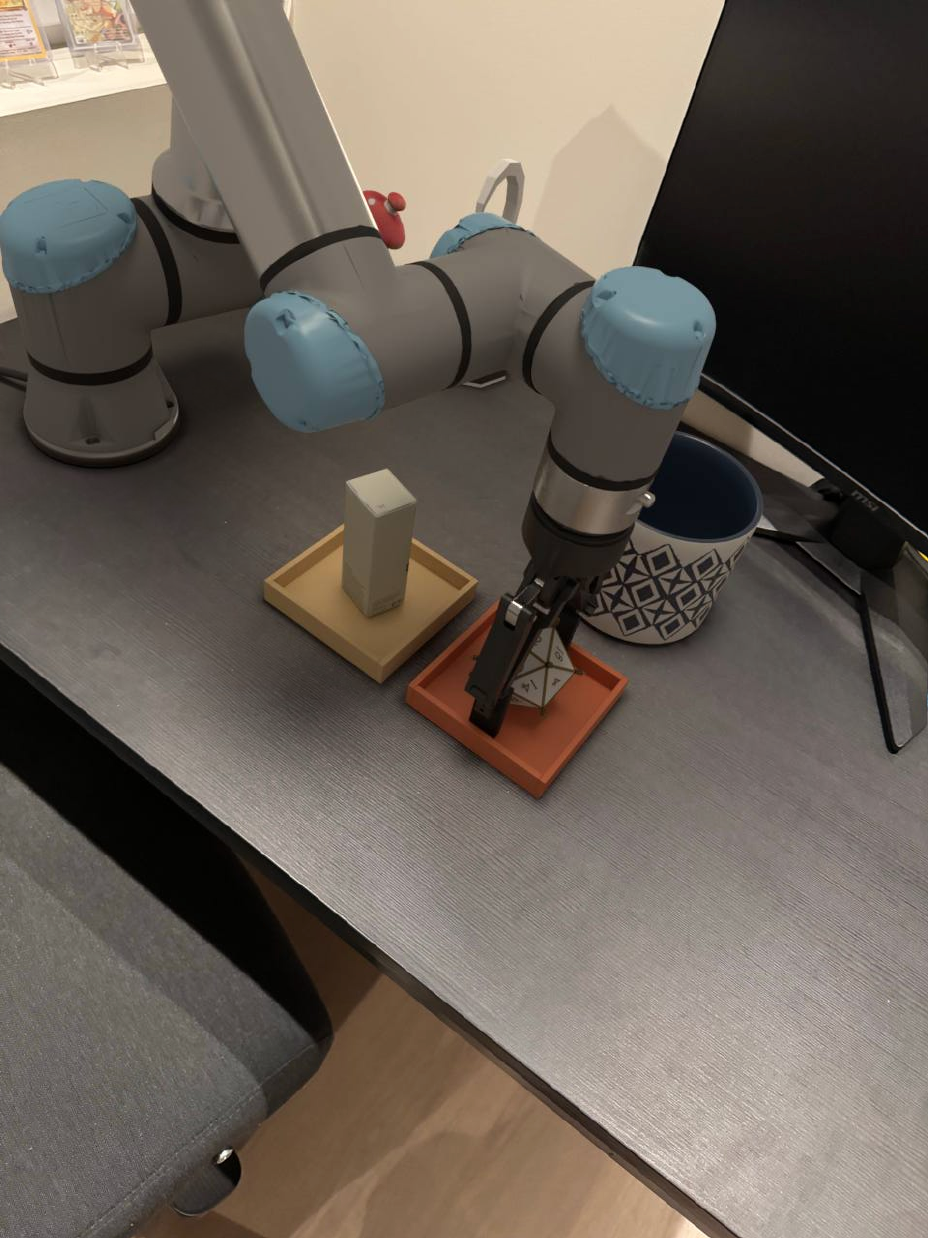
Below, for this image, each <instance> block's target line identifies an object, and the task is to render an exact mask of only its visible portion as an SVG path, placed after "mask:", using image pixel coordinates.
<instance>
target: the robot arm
mask: <svg viewBox="0 0 928 1238" xmlns="http://www.w3.org/2000/svg"><path fill="white" fill-rule="evenodd" d="M292 1H293V0H128V2H129V4H130V6H131V9H132V10H133V13H134V14H135V16H136V19H137V21H138V23H139V25H140V28H141V30H142V32H143V34H144V36H145V39H146V40H147V42H148V44H149V48H150V49H151V52H152V54H153V55H154V58H155V60H156V62H157V64H158V67H159V69H160V71H161V73H162V76H163V77H164V79H165V82H166V85H167V87H168V88H169V90H170V93H171V109H170V110H171V112H170V135H169V136H170V140H169V148H167V149H165V150H164V151H163V152H161V153H160V154H159V155H158V156H157V157H156V158H155V161H154V162H153V166H152V169H151V188H150V189H151V191H150V194H146V195H141V196H135V197H129V195H128V194H126V192H125V191H123V190H122V189H121V188H119V187H118V186H116V185H115V184H114V185H113V184H111V183H109V182H106V181H101V180H97V179H90V180H88V181H83V180H81V179H80V178H68V179H60V180H59V179H58V180H53V181H51V182H46V183H42V184H39V185H36V186H33V187H31V188H29V189H27V190H25V191H23V192H21V193H20V194H18V195H17V196H15V197H14V198H13V199H11V201H9V202H8V203H7V205H6V208H5V209H3V211H2V212H1V215H0V256H1V268H2V273H3V276H4V278H5V279H6V281H7V283H8V287H9V291H10V294H11V298H12V302H13V306H14V310H15V314H16V317H17V321H18V325H19V328H20V332H21V336H22V340H23V343H24V347H25V350H26V351H25V352H26V354H27V359H28V362H29V365H28V366H29V367H28V373H27V372H23V371H21V370H20V371H19V370H17V369H12V368H8V367H3V366H0V376H1V377H6V378H9V379H14V380H17V381H21V382H25V383H26V391H25V399H24V403H23V409H22V410H23V411H22V414H23V419H24V422H25V427H26V429H27V433H28V436H29V438H30V440H31V442H32V443H33V444H34V445H35V446H36V447H37V448H38V449H39V450H40V451H41V452H43V453H45V454H46V455H48V456H49V457H52V458H54V459H55V460H58V461H61V462H64V463H66V464H67V463H68V464H70V465H75V466H81V467H90V468H91V467H92V468H96V467H97V468H106V467H108V468H109V467H117V466H123V465H128V464H133V463H136V462H139V461H142V460H145V459H147V458H149V457H152V456H154V455H155V454H157V453H159V452H160V451H162V450H163V449H165V448H166V447H167V446H168V445H169V444H170V443H171V442H172V441H173V439H174V438H175V437H176V435H177V433H178V432H179V431H178V430H179V428H180V420H181V419H180V413H179V411H180V410H179V404H178V399H177V396H176V394H175V393H174V391H173V389H172V387H171V385H170V384H169V382H168V380H167V378H166V376H165V374H164V372H163V371H162V369H161V366H160V365H159V363H158V360H157V359H156V357H155V355H154V351H153V344H152V342H153V341H152V334H151V333H152V331H153V330H157V329H161V328H163V327H168V326H172V325H177V324H181V323H185V322H190V321H194V320H198V319H203V318H207V317H211V316H216V315H217V316H218V315H220V314H225V313H231V312H234V311H238V310H244V309H250V308H251V309H250V310H249V312H248V314H247V316H246V319H245V323H244V330H243V331H244V332H243V336H244V337H243V338H244V340H243V341H244V349H245V355H246V357H247V359H248V361H249V363H250V367H251V378H252V381H253V384H254V386H255V388H256V390H257V392H258V394H259V396H260V398H261V400H262V401H263V403H264V404H265V405H266V407H267V408H268V410H269V411H270V412H271V413H272V415H274V417H275V418H276V419H277V420H278V421H279V422H280V423H282V424H283V425H285V426H286V427H288V428H290V429H291V430H294V431H297V432H299V433H308V434H309V433H310V434H311V433H312V434H313V433H318V432H321V431H326V430H329V429H332V428H337V427H340V426H344V425H347V424H350V423H355V422H361V421H364V420H365V421H370V420H373V419H375V418H376V417H378V416H379V415H380V414H381V413H383V412H386V411H388V410H391V409H394V408H397V407H400V406H402V405H405V404H408V403H411V402H414V401H416V400H420V399H422V398H425V397H427V396H430V395H434V394H436V393H439V392H443V391H445V390H449V389H453V388H456V387H459V386H462V385H463V384H464V383H467V382H470V381H472V380H475V379H478V378H481V377H484V376H487V375H489V374H492V373H495V372H498V371H501V370H506V372H507V371H508V372H510V373H511V374H513V375H514V376H515V377H516V378H517V379H519V380H520V381H522V382H523V383H524V384H525V385H527V386H528V387H529V388H530V389H531V390H533V391H534V392H535V393H536V394H538V395H540V396H542V397H544V398H545V399H546V400H547V401H549V402H550V403H551V404H552V405H553V407H554V409H555V410H554V413H553V416H552V420H551V423H550V427H549V432H548V434H547V437H546V441H545V444H544V447H543V450H542V454H541V457H540V460H539V463H538V466H537V470H536V473H535V476H534V480H533V487H532V490H531V493H530V496H529V499H528V502H527V506H526V509H525V513H524V516H523V520H522V524H521V536H522V541H523V544H524V546H525V548H526V550H527V552H528V553H529V556H530V558H531V559H530V560H529V561H528V563H527V565H526V567H525V569H524V570H523V574H522V575H523V579H522V581H521V582H520V585H519V587H518V588H517V590H516V592H515V594H514V595H513V594H511V593H510V592H509V591H507V592H505V593H504V594H502V596H501V597H500V598H499V599H500V602H499V604H498V608H497V612H496V616H495V620H494V622H493V624H492V627H491V629H490V631H489V633H488V636H487V638H486V640H485V643H484V645H483V647H482V649H481V652H480V654H479V656H478V659H477V661H476V663H475V665H474V668H473V670H472V671H471V672H470V673H469V679H468V682H467V683H466V685H465V689H464V691H466V692H467V693H468V694H470V695H471V696H473V697H474V698H475V700H474V703H473V707H472V710H471V713H470V717H469V720H468V721H470V722H471V723H473V724H474V725H475V726H477V727H478V728H480V729H481V730H482V731H484V732H485V733H486V734H488V735H489V736H491V737H492V738H493V739H494V738H495V737H496V736H497V735H498V733H499V731H500V728H501V726H502V723H503V720H504V717H505V714H506V711H507V709H508V706H509V703H510V700H511V697H512V695H513V692H514V688H513V687H511V686H512V684H513V682H514V680H515V679H516V677H517V675H518V673H519V671H520V670H521V668H522V666H523V664H524V663H525V661H526V659H527V657H528V655H529V654H530V652H531V650H532V648H533V647H534V645H535V643H536V641H537V640H538V638H539V636H540V634H541V632H542V631H543V629H546V628H548V627H550V626H552V625H553V624H554V623H555V621H556V619H557V618H559V617H560V623H559V624H558V626H556V629H557V632H558V634H559V636H560V638H561V640H562V642H563V644H564V646H565V648H566V651H568V649H569V646H570V644H571V642H573V639H574V637H575V635H576V631H577V629H578V627H579V624H580V622H581V619H582V616H580V615H579V612H581V613H583V614H584V615H586V616H587V617H589V618H590V617H591V616H592V614H593V613H594V612H595V610H596V608H597V606H596V605H594V604H592V603H591V602H590V597H589V595H590V594H591V595H592V596H594V597H595V596H596V595H597V594H599V593H600V591H601V587H602V584H603V580H604V576H605V573H606V572H608V571H610V570H611V569H613V568H614V567H615V566H616V565H617V564H618V562H619V561H620V559H621V557H622V555H623V553H624V551H625V548H626V546H627V544H628V541H629V539H630V537H631V534H632V532H633V530H634V527H635V521H636V519H637V518H638V516H639V514H640V512H641V509H642V507H643V506H644V507H647V508H648V507H651V506H652V505H653V503H654V502H655V495H653V494H652V493H650V492H648V490H649V488H650V486H651V484H652V483H653V481H654V479H655V476H656V475H657V472H658V470H659V467H660V465H661V462H662V461H663V457H664V455H665V453H666V450H667V448H668V446H669V444H670V442H671V440H672V437H673V435H674V433H675V431H677V429H678V426H679V425H680V422H681V421H682V418H683V416H684V413H685V411H686V409H687V407H688V404H689V402H690V401H692V399H693V395H694V394H695V393H697V390H698V388H699V385H700V381H701V376H702V371H703V368H704V366H705V363H706V360H707V357H708V355H709V352H710V349H711V346H712V343H713V341H714V337H715V334H716V329H717V321H716V314H715V311H714V308H713V306H712V304H711V303H710V301H709V299H708V298H707V297H706V295H704V294H703V293H702V291H701V290H699V289H698V288H697V287H696V286H694V284H691V283H690V282H688V281H687V280H685V279H684V278H681V277H679V276H670V275H667V274H665V273H663V272H662V271H661V270H660V269H657V268H653V267H647V266H637V265H632V266H620V267H616V268H613V269H610V270H608V271H606V272H605V273H603V274H602V275H600V276H599V277H598V278H597V279H596V278H595V277H593V276H592V274H589V273H588V272H587V271H586V270H584V269H582V267H579V266H578V265H577V264H575V263H574V262H573V261H571V260H570V259H569V258H567V257H565V256H564V255H563V254H562V253H560V252H559V251H557V250H556V249H554V248H553V247H552V246H550V245H549V244H548V243H546V242H545V241H543V240H542V238H540V236H538V235H536V234H535V233H534V232H533V231H532V230H530V229H525V228H524V227H522V226H521V225H517V224H516V225H515V224H513V223H511V222H509V221H508V220H506V219H504V218H502V215H500V214H496V213H493V212H488V211H484V212H479V213H475V212H474V213H470V214H468V215H465V216H463V217H461V218H460V219H459V221H458V223H457V224H456V225H455V226H454V227H453V228H451V229H446V230H445V231H444V232H443V233H442V234H441V236H440V237H439V239H438V240H437V242H436V243H435V245H434V247H433V248H432V250H431V253H430V255H429V257H428V259H423V260H417V261H413V262H410V263H405V264H402V265H396V264H395V262H394V260H393V257H392V255H391V256H390V254H391V252H390V250H389V251H388V249H387V247H386V245H385V244H384V241H383V239H382V237H381V234H380V232H379V230H378V227H377V225H376V223H375V220H374V218H373V216H372V213H371V211H370V209H369V206H368V204H367V202H366V200H365V197H364V195H363V193H362V191H363V190H362V188H361V186H360V182H359V181H358V178H357V176H356V173H355V172H354V169H353V167H352V165H351V162H350V160H349V158H348V155H347V153H346V151H345V149H344V146H343V144H342V142H341V139H340V137H339V135H338V133H337V129H336V128H335V125H334V123H333V121H332V119H331V118H332V117H331V116H330V114H329V112H328V111H329V110H328V108H327V106H326V104H325V101H324V99H323V97H322V95H321V93H320V90H319V88H318V86H317V84H316V81H315V78H314V76H313V74H312V72H311V70H310V67H309V65H308V63H307V62H308V61H307V60H306V58H305V56H304V53H303V51H302V48H301V46H300V44H299V42H298V39H297V37H296V34H295V33H294V29H293V28H292V26H291V23H290V15H291V9H292ZM389 252H390V253H389ZM391 257H392V258H391ZM535 604H536V605H538V606H540V607H541V608H543V609H545V610H549V611H548V612H547V613H546V612H544V611H543V610H540V609H539V608H538V607H536V606H535Z"/></svg>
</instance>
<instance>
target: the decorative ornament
mask: <svg viewBox="0 0 928 1238" xmlns="http://www.w3.org/2000/svg"><path fill="white" fill-rule="evenodd" d="M362 193H363V195H364V197H365V200H366V202H367V204H368V206H369V209H370V211H371V213H372V216H373V218H374V220H375V223H376V225H377V227H378V230H379V232H380V234H381V237H382V239H383V241H384V244H385V245H386V247H387V249H388V251H389V253H390V256H391V258H392V259H393V257H392V255H391V251H390V250H392V251H393V250H394V251H396V250H400V249H402V248H403V246H404V244H405V242H406V232H405V231H406V230H405V224H404V221H403V219H402V217H401V215H400V213H399V212H403V211H405V209H406V207H407V204H406V200H405V198H404V196H403V195H402V194H400V193H399V192H396V191H391V192H389V193H388V194H387V196H386V195H384V194H382V193H381V192H379V191H376V190H371V189H370V190H368V189H366V190H362Z"/></svg>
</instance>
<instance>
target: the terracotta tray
mask: <svg viewBox="0 0 928 1238" xmlns="http://www.w3.org/2000/svg"><path fill="white" fill-rule="evenodd" d="M499 602H500V598H499V599H498V600H497V601H495V603H494V604H493V605H492V606H490V607H489V608H488V609H487V610H486V611H485V612H484V613H483V614H482V615H481V616H480V617H479V618H478V619H476V620H475V621H474V622H473V623H472V624H471V625H470V626H469V627H468V628H467V629H466V630H465V631H464V632H463V633H461V635H460V636H458V637H457V638H456V639H455V640H454V641H453V642H452V643H451V644H450V645H449V646H448V647H447V648H446V649H445V650H443V652H441V653H440V654H439V655H438V656H437V657H436V658H435V659H434V660H433V661H432V662H431V663H430V664H429V665H428V666H427V667H426V668H424V669H423V670H422V671H421V672H420V673H419V674H418V675H417V676H416V677H415V678H413V680H412V681H410V683H409V684H408V686H407V689H406V690H407V691H406V696H405V703H406V704H407V705H408V706H410V707H412V709H414V710H415V711H416V712H418V713H420V714H421V715H422V716H424V717H425V718H427V719H428V720H429V721H431V722H432V723H433V724H435V725H436V726H437V727H439V728H440V729H442V730H443V731H444V732H445V733H447V734H448V735H450V736H451V737H452V738H454V739H455V740H457V742H459V743H461V744H462V745H463V746H465V747H466V748H468V750H470V751H472V752H473V753H474V754H476V755H477V756H478V757H479V758H481V759H482V760H484V761H485V762H486V763H488V764H489V765H491V766H492V767H493V768H495V769H496V770H497V771H498V772H500V773H501V774H503V775H504V776H506V777H507V778H508V779H510V780H511V781H513V783H515V784H517V785H518V786H519V787H520V788H522V789H523V790H524V791H526V792H528V793H529V794H530V795H532V796H533V797H534V798H536V799H537V800H539V799H540V798H541V797H542V795H544V793H545V792H546V791H547V789H548V788H549V787H550V785H551V784H552V783H553V782H554V780H555V779H556V778H557V777H558V775H559V774H560V773H561V772H562V770H563V769H564V768H565V767H566V765H567V764H568V763H569V762H570V760H571V759H572V758H573V757H574V755H575V754H576V753H577V752H578V751H579V750H580V748H581V746H583V744H584V743H585V741H587V739H588V738H589V737H590V736H591V734H592V733H593V732H594V730H595V729H596V728H597V727H598V726H599V724H600V723H601V721H602V720H603V719H604V718H605V716H606V715H607V714H608V713H609V712H610V711H611V709H612V708H613V706H614V705H615V704H616V703H617V702H618V700H619V699H620V698H621V697H622V695H623V693H624V691H625V689H626V687H627V685H628V683H629V681H630V679H629V678H628V677H626V675H625V676H624V675H623V674H622V673H620V672H619V671H617V670H615V668H613V667H611V666H610V665H608V664H606V663H605V662H604V661H602V660H600V659H599V658H597V657H596V656H594V655H593V654H591V653H589V652H588V651H587V650H585V649H584V648H582V647H581V646H579V645H577V644H576V643H575V642H573V641H572V642H571V644H570V646H569V649H568V651H567V653H568V655H569V657H570V659H571V661H572V663H573V665H574V667H575V669H576V670H583V671H584V672H585V673H586V674H583V675H578V674H574V675H573V676H572V678H571V679H570V680H569V681H568V682H567V683H566V684H565V685H564V687H563V688H562V689H561V690H560V691H559V692H558V693H557V694H556V696H555V697H554V698H553V699H552V700H551V701H550V702H549V704H548V705H547V706H546V707H545V710H546V712H547V713H548V714H547V717H546V718H545V717H544V716H542V715H541V713H540V712H541V709H537V708H530V707H523V706H515V705H509V706H508V709H507V711H506V714H505V717H504V720H503V723H502V726H501V728H500V731H499V733H498V735H497V736H496V737H495V738H494V739H493V738H492V737H491V736H489V735H488V734H486V733H485V732H484V731H482V730H481V729H480V728H478V727H477V726H475V725H474V724H473V723H471V722H470V721H468V720H469V717H470V713H471V710H472V707H473V703H474V700H475V698H474V697H473V696H471V695H470V694H468V693H467V692H466V691H464V689H465V685H466V683H467V682H468V679H469V673H470V672H471V671H472V670H473V668H474V665H475V663H476V660H473V659H472V658H470V657H471V656H473V655H474V654H475V655H478V656H479V654H480V652H481V649H482V647H483V645H484V643H485V640H486V638H487V636H488V633H489V631H490V629H491V627H492V624H493V622H494V620H495V616H496V612H497V608H498V604H499Z"/></svg>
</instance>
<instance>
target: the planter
mask: <svg viewBox="0 0 928 1238" xmlns="http://www.w3.org/2000/svg"><path fill="white" fill-rule="evenodd" d="M648 492H650V493H652V494H653V495H655V502H654V503H653V505H652V506H651V507H648V508H647V507H644V506H643V507H642V509H641V512H640V514H639V516H638V518H637V519H636V521H635V527H634V530H633V532H632V534H631V537H630V539H629V541H628V544H627V546H626V548H625V551H624V553H623V555H622V557H621V559H620V561H619V562H618V564H617V565H616V566H615V567H614V568H613V569H611V570H610V571H608V572H606V573H605V576H604V580H603V584H602V587H601V591H600V593H599V594H597V595H596V596H595V597H594V596H592V595H591V594H590V595H589V597H590V602H591V603H592V604H594V605H596V606H597V608H596V610H595V612H594V613H593V614H592V616H591V617H590V618H589V617H587V616H586V615H584V614H583V613H581V612H579V615H580V616H582V617H581V619H584V620H585V621H586V622H587V623H589V624H590V625H592V626H593V627H595V628H596V629H598V630H599V631H601V632H603V633H604V634H608V635H610V636H612V637H614V638H617V639H621V640H623V641H627V642H631V643H636V644H643V645H644V644H645V645H662V644H663V645H664V644H668V643H673V642H676V641H679V640H682V639H684V638H685V637H687V636H689V635H691V634H692V633H694V632H695V631H696V630H697V629H698V628H699V627H700V626H701V624H702V623H703V622H704V620H705V618H706V617H707V615H708V613H709V611H710V610H711V608H712V606H713V605H714V603H715V601H716V599H717V598H718V596H719V595H720V593H721V591H722V589H723V587H724V585H725V584H726V582H727V580H728V579H729V577H730V575H731V573H732V572H733V570H734V568H735V566H736V564H737V563H738V561H739V560H740V557H741V556H742V554H743V552H744V551H745V549H746V547H747V545H748V543H749V542H750V540H751V538H752V536H753V535H754V533H755V531H756V530H757V527H758V525H759V524H760V521H761V519H762V516H763V513H764V512H763V511H764V500H763V494H762V492H761V489H760V487H759V485H758V483H757V482H756V479H755V478H754V476H753V475H752V474H751V473H750V471H749V470H748V469H747V468H746V467H745V466H744V465H743V463H741V461H739V460H737V459H736V458H735V457H734V456H732V454H730V453H729V452H727V451H726V450H724V449H723V448H721V447H720V446H718V445H716V444H713V443H712V442H710V441H708V440H706V439H703V438H701V437H699V436H696V435H694V434H690V433H687V432H684V431H683V432H682V431H678V430H676V431H675V433H674V435H673V437H672V440H671V442H670V444H669V446H668V448H667V450H666V453H665V455H664V457H663V461H662V462H661V465H660V467H659V470H658V472H657V475H656V476H655V479H654V481H653V483H652V484H651V486H650V488H649V490H648Z"/></svg>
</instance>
